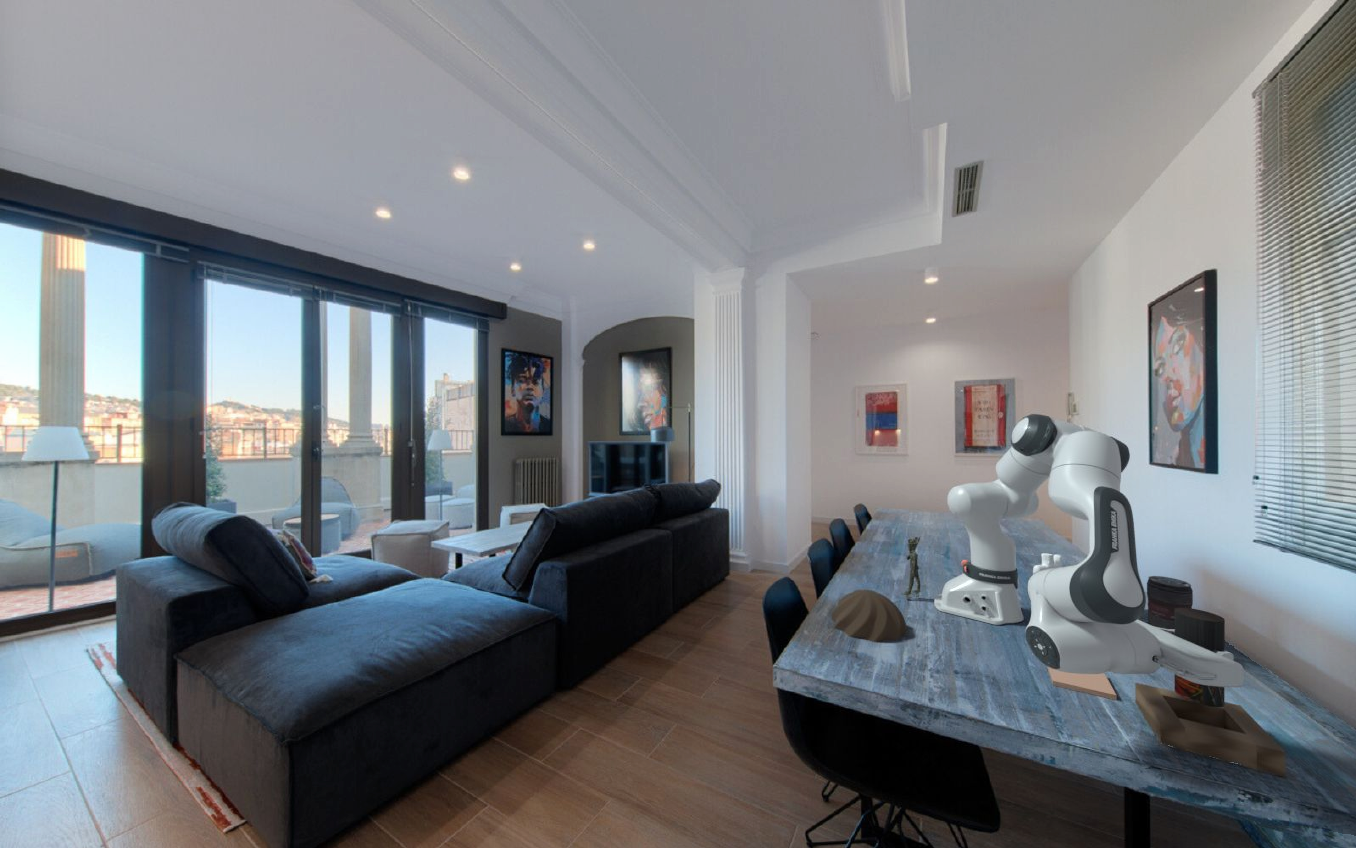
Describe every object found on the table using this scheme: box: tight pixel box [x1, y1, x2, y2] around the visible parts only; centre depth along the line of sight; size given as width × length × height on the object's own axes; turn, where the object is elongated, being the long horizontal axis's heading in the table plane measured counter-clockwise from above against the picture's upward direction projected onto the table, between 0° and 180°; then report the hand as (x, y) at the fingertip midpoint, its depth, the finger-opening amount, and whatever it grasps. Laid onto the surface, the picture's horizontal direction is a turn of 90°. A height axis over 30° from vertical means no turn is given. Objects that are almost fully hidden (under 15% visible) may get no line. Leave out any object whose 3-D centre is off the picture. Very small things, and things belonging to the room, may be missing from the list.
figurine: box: [1032, 552, 1063, 575], centre depth 142 cm, size 7×9×15 cm
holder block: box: [1134, 682, 1287, 778], centre depth 81 cm, size 14×14×4 cm
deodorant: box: [1174, 608, 1226, 707], centre depth 81 cm, size 6×6×15 cm
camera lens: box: [1146, 575, 1194, 629], centre depth 117 cm, size 8×8×15 cm
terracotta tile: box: [1046, 666, 1118, 701], centre depth 98 cm, size 10×10×1 cm
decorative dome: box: [830, 589, 908, 643], centre depth 127 cm, size 19×20×10 cm
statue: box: [901, 536, 921, 601], centre depth 146 cm, size 5×6×20 cm
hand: (1203, 645), depth 81 cm, fingers closed on deodorant, 6 cm apart
